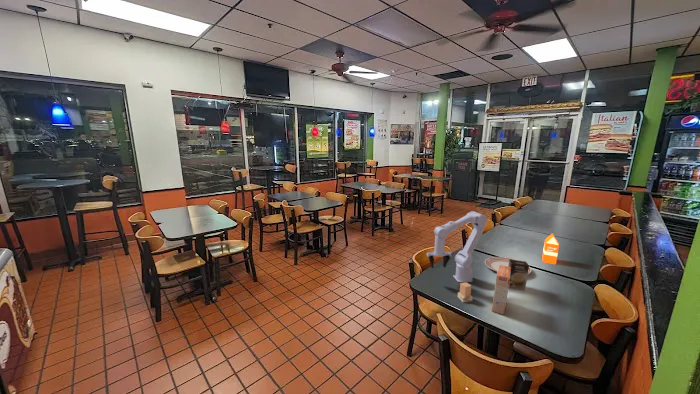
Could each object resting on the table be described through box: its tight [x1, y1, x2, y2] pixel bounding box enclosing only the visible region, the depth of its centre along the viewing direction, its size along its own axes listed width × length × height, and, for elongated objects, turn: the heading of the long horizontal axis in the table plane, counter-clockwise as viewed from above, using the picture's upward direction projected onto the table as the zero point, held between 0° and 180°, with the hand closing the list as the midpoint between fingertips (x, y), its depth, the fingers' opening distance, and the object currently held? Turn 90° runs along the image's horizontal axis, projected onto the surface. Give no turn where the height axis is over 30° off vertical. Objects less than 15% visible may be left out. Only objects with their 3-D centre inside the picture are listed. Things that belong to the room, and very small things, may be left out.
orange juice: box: [541, 233, 560, 265], centre depth 192 cm, size 8×9×20 cm
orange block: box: [459, 282, 472, 297], centre depth 148 cm, size 4×4×6 cm
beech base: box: [457, 291, 474, 303], centre depth 148 cm, size 6×6×3 cm
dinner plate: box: [484, 256, 532, 275], centre depth 182 cm, size 28×27×3 cm
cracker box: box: [491, 265, 511, 316], centre depth 139 cm, size 14×6×21 cm, turn 146°
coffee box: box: [508, 258, 530, 291], centre depth 158 cm, size 9×6×16 cm
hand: (438, 267), depth 164 cm, fingers open, 7 cm apart
